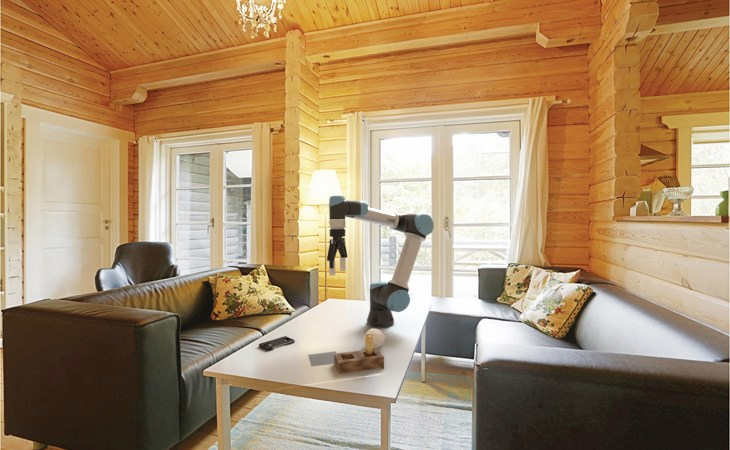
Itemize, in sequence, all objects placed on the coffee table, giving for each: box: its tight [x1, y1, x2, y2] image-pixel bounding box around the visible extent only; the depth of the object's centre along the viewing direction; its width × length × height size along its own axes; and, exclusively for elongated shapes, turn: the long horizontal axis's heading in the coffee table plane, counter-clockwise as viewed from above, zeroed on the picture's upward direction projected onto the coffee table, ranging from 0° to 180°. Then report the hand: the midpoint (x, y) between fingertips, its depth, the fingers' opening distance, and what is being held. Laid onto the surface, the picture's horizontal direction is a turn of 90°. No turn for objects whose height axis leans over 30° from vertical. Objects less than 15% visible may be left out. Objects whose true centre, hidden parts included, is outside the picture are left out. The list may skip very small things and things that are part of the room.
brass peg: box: [364, 333, 373, 357], centre depth 135 cm, size 3×3×12 cm
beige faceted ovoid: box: [363, 327, 387, 349], centre depth 154 cm, size 9×9×12 cm
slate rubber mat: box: [307, 351, 337, 367], centre depth 141 cm, size 12×12×1 cm
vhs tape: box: [258, 335, 296, 352], centre depth 158 cm, size 14×8×2 cm, turn 137°
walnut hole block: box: [333, 348, 385, 375], centre depth 134 cm, size 18×9×4 cm, turn 106°
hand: (337, 273), depth 162 cm, fingers open, 13 cm apart
